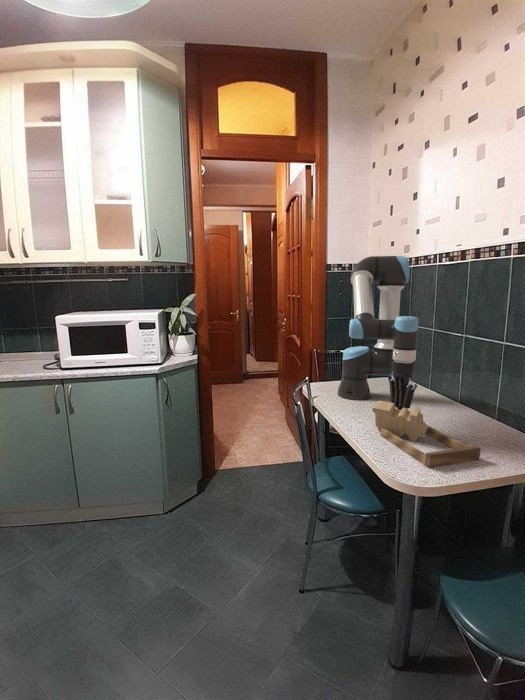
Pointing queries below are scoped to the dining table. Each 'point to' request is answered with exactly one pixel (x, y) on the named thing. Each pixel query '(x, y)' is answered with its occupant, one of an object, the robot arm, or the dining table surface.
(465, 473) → the dining table surface
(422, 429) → the toy train
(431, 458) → the frame
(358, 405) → the dining table surface
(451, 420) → the dining table surface
